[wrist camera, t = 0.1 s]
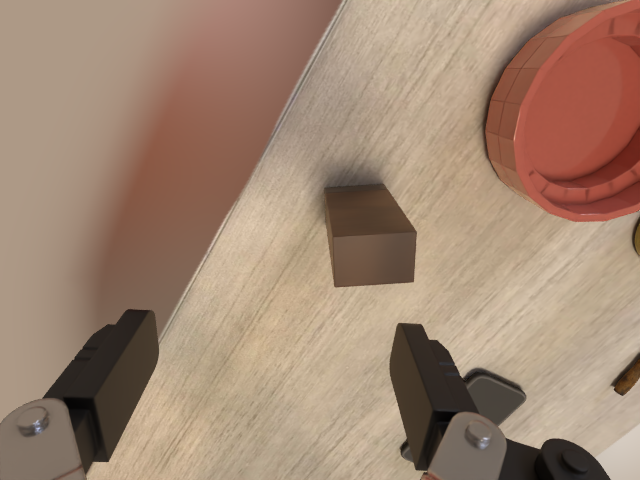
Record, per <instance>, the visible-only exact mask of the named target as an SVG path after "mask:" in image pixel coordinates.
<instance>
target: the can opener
mask: <svg viewBox="0 0 640 480" xmlns="http://www.w3.org/2000/svg"><path fill="white" fill-rule="evenodd" d="M639 378H640V359H639V360H638V361H637V362H636V364H635V365H634V366H633V367H632V368H631V369H630V370H629V371H628V372H627V373H626V374H625V375H624V376H623V377H622V378H621V379H620V380H619V382H618V383H617V385H616V386H615V388H614V391H615V392H617V393H618V394H620V395H622V396H623V395H625V394H626V393H627V392H628V391H629V390H630V389H631V388H632V387H633V386H634V385H635V383H636V382H637V381H638V379H639Z"/></svg>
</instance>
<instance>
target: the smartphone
mask: <svg viewBox="0 0 640 480" xmlns="http://www.w3.org/2000/svg"><path fill="white" fill-rule="evenodd" d="M465 385H466V387H467V389H468V391H469V393H470V395H471V397H472V399H473V401H474V403H475V405H476V407H477V409H478V411H479V413H480V415H482V416H484V417H486V418H488V419H489V420H491V421H492V422H493V423H495V424H496V425H497V426H499V425H500V424H501V423H502V422H503V421H505V420H506V419H507V418H508V417H509V416H510V415H511V414H512V413H513V412H514V411H515V410H516V409H518V408H519V407H520V406H521V405H522V404H523V403H524V402H525V401H526V395H525V393H524V392H523V391H522V390H521V389H519V388H517V387H514V386H512V385H510V384H508V383H506V382H504V381H501V380H499V379H497V378H495V377H493V376H491V375H489V374H486V373H483V372H477V373H474V374H473V375H472V376H471V377H470V378H469V379H468V380H467V381H466V382H465ZM401 455H402V457H403V458H404V459H406V460H408V461H411V462H413V458H412V454H411V451H410V447H409V443H408V442H407V443H406V444H405V445H404V446H403V447H402V449H401Z"/></svg>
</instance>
